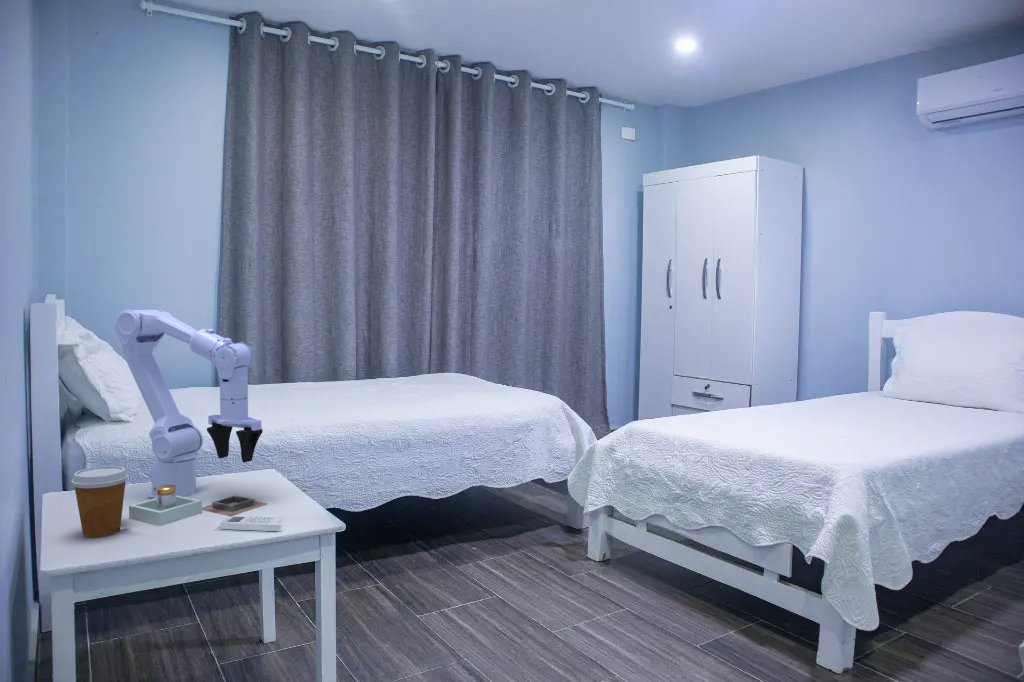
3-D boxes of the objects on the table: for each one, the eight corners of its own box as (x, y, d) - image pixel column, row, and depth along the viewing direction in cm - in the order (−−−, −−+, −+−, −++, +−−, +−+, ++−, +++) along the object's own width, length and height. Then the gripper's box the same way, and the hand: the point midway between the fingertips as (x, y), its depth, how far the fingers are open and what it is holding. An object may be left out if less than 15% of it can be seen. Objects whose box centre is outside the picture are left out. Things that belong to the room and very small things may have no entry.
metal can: (170, 511, 148) (170, 483, 148) (180, 515, 146) (180, 486, 146) (152, 516, 145) (152, 487, 145) (162, 519, 143) (161, 490, 143)
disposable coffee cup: (71, 543, 131) (69, 480, 131) (74, 528, 140) (72, 468, 139) (129, 535, 136) (128, 474, 135) (129, 521, 144) (127, 463, 143)
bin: (129, 522, 144) (128, 505, 143) (171, 510, 152) (171, 494, 152) (160, 530, 139) (159, 512, 139) (202, 517, 148) (201, 500, 147)
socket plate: (197, 513, 150) (197, 503, 150) (236, 501, 159) (236, 491, 159) (230, 520, 145) (230, 510, 145) (268, 508, 154) (268, 498, 154)
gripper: (196, 398, 156) (197, 459, 157) (242, 403, 149) (243, 467, 150) (222, 394, 162) (223, 452, 163) (268, 399, 155) (269, 460, 156)
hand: (235, 459), depth 157 cm, fingers open, 7 cm apart
